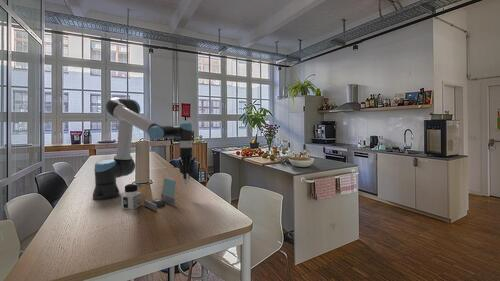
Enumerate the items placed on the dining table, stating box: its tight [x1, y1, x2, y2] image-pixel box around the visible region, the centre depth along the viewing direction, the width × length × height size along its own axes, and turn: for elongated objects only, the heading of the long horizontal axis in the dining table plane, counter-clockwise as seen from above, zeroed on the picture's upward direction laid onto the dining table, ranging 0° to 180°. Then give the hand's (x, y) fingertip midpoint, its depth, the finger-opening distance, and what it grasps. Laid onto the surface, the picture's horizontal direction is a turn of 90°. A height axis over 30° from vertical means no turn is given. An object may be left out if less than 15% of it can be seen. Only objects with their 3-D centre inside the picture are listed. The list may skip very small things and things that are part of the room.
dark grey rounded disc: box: [150, 198, 165, 208], centre depth 142 cm, size 7×7×3 cm
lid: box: [161, 177, 177, 199], centre depth 146 cm, size 12×11×1 cm
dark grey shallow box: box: [143, 193, 176, 212], centre depth 141 cm, size 14×12×5 cm
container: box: [120, 183, 143, 210], centre depth 139 cm, size 8×8×13 cm
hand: (186, 183), depth 155 cm, fingers closed
